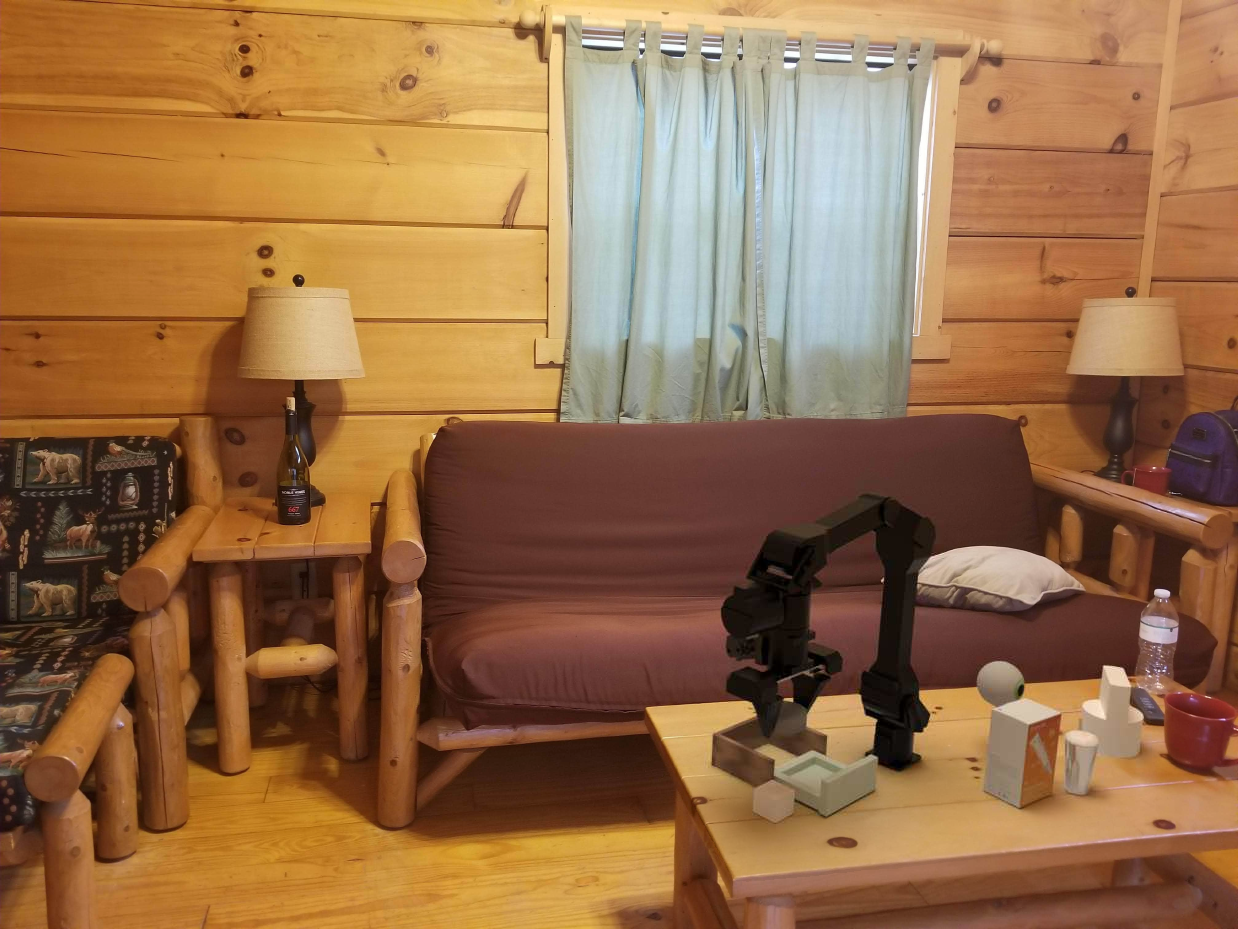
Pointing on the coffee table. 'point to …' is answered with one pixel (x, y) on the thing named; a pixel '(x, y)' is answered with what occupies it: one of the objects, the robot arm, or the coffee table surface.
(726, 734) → the holder
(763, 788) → the block
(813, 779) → the tray
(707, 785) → the coffee table surface
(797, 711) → the cylinder
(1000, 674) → the eyeball
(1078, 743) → the milkshake
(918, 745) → the coffee table surface
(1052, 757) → the small box
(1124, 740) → the base with upright slab
